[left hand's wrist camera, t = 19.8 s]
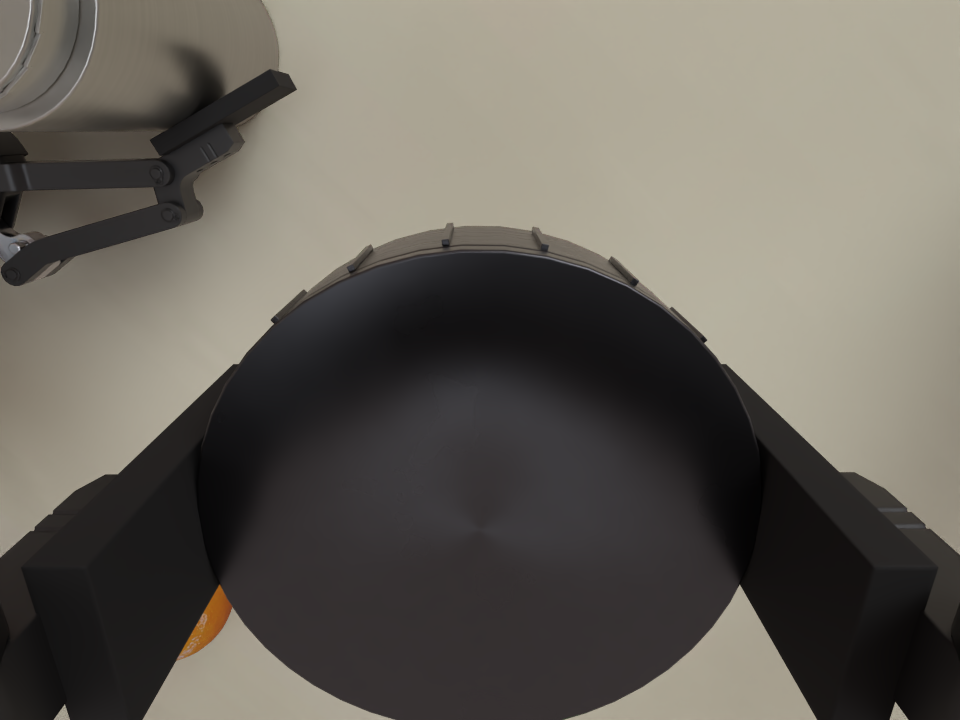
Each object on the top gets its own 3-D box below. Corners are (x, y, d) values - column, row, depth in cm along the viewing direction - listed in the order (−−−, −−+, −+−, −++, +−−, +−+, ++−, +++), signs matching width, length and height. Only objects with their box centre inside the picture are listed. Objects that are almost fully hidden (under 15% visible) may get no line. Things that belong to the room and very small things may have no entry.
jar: (156, 144, 35) (-176, 159, 17) (96, -24, 32) (-375, -211, 14) (298, 114, 35) (104, 98, 17) (251, -59, 32) (-45, -301, 14)
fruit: (177, 510, 39) (108, 641, 35) (277, 561, 45) (228, 681, 40) (115, 517, 44) (47, 633, 40) (212, 562, 49) (161, 669, 45)
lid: (789, 515, 13) (853, 594, 10) (422, 698, 14) (412, 796, 12) (562, 112, 10) (585, 107, 8) (144, 397, 12) (69, 458, 9)
